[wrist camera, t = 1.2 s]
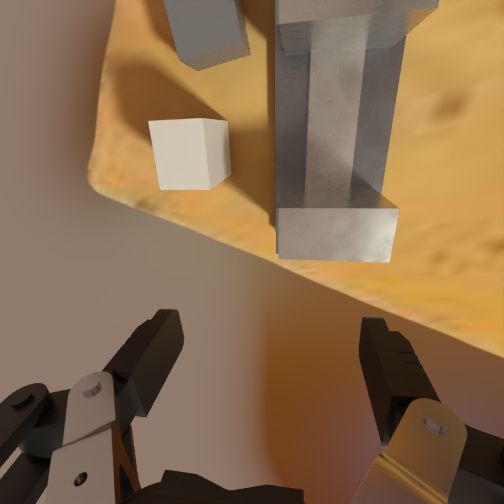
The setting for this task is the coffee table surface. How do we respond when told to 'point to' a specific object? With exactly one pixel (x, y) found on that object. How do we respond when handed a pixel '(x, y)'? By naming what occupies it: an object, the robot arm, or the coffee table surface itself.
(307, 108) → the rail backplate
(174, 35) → the block
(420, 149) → the coffee table surface
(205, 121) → the block
